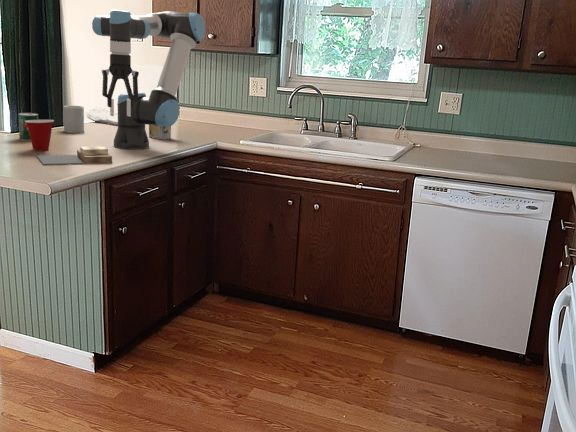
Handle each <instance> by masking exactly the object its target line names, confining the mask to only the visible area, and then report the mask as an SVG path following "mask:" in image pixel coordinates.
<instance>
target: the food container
mask: <svg viewBox="0 0 576 432" xmlns="http://www.w3.org/2000/svg"><path fill="white" fill-rule="evenodd" d="M85 116H86V118H88V119H89V120H91V121H93V122H98V123H100V122H104V123H103V124H106V123H109V124H108V125H111V124H114V125H113V126H118V112H116V113H115V112H114V116H110V111H108V109H107V108H100V107H98V106H97V107H95V108H93V109H90V110H88V112H86V114H85Z"/></svg>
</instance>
